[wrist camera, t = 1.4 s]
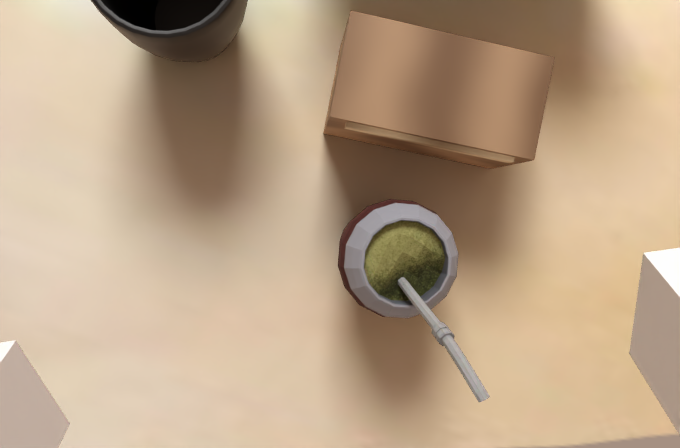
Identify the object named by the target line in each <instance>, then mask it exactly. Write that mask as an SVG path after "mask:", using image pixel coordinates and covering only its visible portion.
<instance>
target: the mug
mask: <svg viewBox="0 0 680 448" xmlns="http://www.w3.org/2000/svg"><path fill="white" fill-rule="evenodd" d="M91 1H92V2H93V4H94V5H95V6H96V8H97V9H98V10H99V11H100V13H101V14H102V15H103V16H104V17H105V18H106V19H107V20H108V21H109V22H110V23H111V24H112V25H113V26H114V27H115V28H116V29H117V30H118V31H119V32H120V33H122V34H123V35H124V36H125V37H126V38H128V39H129V40H130V41H131V42H132V43H134V44H136V45H137V46H139V47H141V48H143V49H145V50H146V51H148V52H150V53H152V54H154V55H157V56H159V57H163V58H167V59H170V60H174V61H183V62H200V61H205V60H209V59H211V58H214V57H216V56H217V55H219V54H220V53H221V52H223V51H224V50H225V49H226V48H227V46H228V45H229V44H230V42H231V41H232V40H233V39H234V37H235V36H236V34H237V32H238V30H239V28H240V26H241V24H242V22H243V18H244V14H245V10H246V6H247V2H248V0H91Z"/></svg>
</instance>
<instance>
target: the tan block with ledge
mask: <svg viewBox="0 0 680 448" xmlns="http://www.w3.org/2000/svg"><path fill="white" fill-rule="evenodd" d="M554 59H555V57H551V56H546V55H542V54H538V53H533V52H529V51H525V50H520V49H516V48H512V47H508V46H503V45H499V44H495V43H490V42H486V41H482V40H477V39H473V38H469V37H464V36H460V35H456V34H451V33H447V32H443V31H438V30H434V29H430V28H425V27H421V26H417V25H412V24H408V23H404V22H399V21H395V20H391V19H386V18H382V17H378V16H373V15H369V14H365V13H360V12H356V11H352V10H351V12H350V15H349V19H348V22H347V26H346V29H345V33H344V36H343V40H342V43H341V47H340V52H339V57H338V62H337V67H336V72H335V77H334V82H333V87H332V92H331V97H330V102H329V107H328V112H327V118H326V123H325V128H324V134H328V135H333V136H338V137H343V138H347V139H352V140H357V141H362V142H366V143H371V144H376V145H381V146H385V147H390V148H395V149H400V150H404V151H409V152H414V153H419V154H423V155H428V156H433V157H438V158H442V159H447V160H452V161H457V162H461V163H466V164H471V165H476V166H480V167H485V168H490V169H492V168H497V167H502V166H507V165H512V164H517V163H522V162H527V161H532V160H534V158H535V153H536V148H537V143H538V138H539V133H540V128H541V123H542V118H543V113H544V108H545V103H546V98H547V93H548V89H549V84H550V79H551V74H552V69H553V64H554Z"/></svg>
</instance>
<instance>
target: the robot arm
mask: <svg viewBox="0 0 680 448" xmlns="http://www.w3.org/2000/svg"><path fill="white" fill-rule="evenodd" d="M629 354H630V356H631V357H632V359H633V361H634V362H635V364H636V365H637V367H638V369H639V370H640V372H641V374H642V375H643V377H644V378H645V380H646V382H647V383H648V385H649V386H650V388H651V390H652V391H653V393H654V395H655V396H656V398H657V399H658V401H659V403H660V404H661V406H662V407H663V409H664V411H665V412H666V414H667V416H668V417H669V419H670V420H671V422H672V424H673V425H674V427H675V429H676V430H677V432H678V433H679V435H680V248H675V249H668V250H660V251H653V252H646V253H643V258H642V266H641V273H640V280H639V287H638V295H637V302H636V309H635V316H634V323H633V331H632V338H631V345H630V352H629ZM69 425H70V423H69V421H68V420H67V418H66V417H65V415H64V413H63V412H62V410H61V409H60V407H59V406H58V404H57V403H56V401H55V400H54V398H53V397H52V395H51V393H50V392H49V390H48V389H47V387H46V386H45V384H44V383H43V381H42V380H41V378H40V377H39V375H38V374H37V372H36V370H35V369H34V367H33V366H32V364H31V363H30V361H29V360H28V358H27V357H26V355H25V354H24V352H23V350H22V349H21V347H20V346H19V344H18V343H17V341H16V340H15V341H8V342H1V343H0V448H58V447H59V445H60V443H61V441H62V439H63V437H64V435H65V433H66V431H67V429H68V427H69Z"/></svg>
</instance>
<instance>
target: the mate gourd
mask: <svg viewBox="0 0 680 448" xmlns="http://www.w3.org/2000/svg"><path fill="white" fill-rule="evenodd" d="M457 264H458V251H457V247H456V244H455V241H454V238H453V234H452V232H451V231H450V230H449V228H448V227H447V226H446V225H445V223H444V222H443V221H442V220H441V219H440V217H439V216H438V215H437V214H436V213H435V212H433V211H431V210H429V209H427V208H425V207H424V206H422V205H420V204H418V203H416V202H414V201H404V200H393V199H389V200H386V201H383V202H380V203H377V204H373V205H370V206H368V207H367V208H365V209H364V210H363V211H362V212H361V213H359V214H358V215H357V216H356V217H355V218H354V219H352V220H351V221H350V222H349V223H348V225H347V226H346V228H345V229H344V230H343V233H342V236H341V239H340V245H339V258H338V267H339V270H340V273H341V277H342V280H343V283H344V286H345V288H346V289H347V290H348V292H349V293H350V294H351V295H352V296H353V298H354V299H355V300H356V301H357V302H358V304H359V305H361V306H363V307H365V308H367V309H369V310H371V311H372V312H374V313H376V314H378V315H380V316H382V317H397V318H410V317H413V316H416V315H419V314H421V315H422V317H423V318H424V319H425V321H426V322H427V323H428V325H429V326H430V327H431V329H432V334H433V335H434V337H435V338H436V340H437V341H438V342H439V344H441V345H442V346H445V348H446V349H447V351H448V353H449V354H450V356H451V357H452V359H453V360H454V362H455V364H456V365H457V367H458V369H459V370H460V372H461V374H462V375H463V377H464V379H465V380H466V382H467V384H468V385H469V387H470V389H471V390H472V392H473V394H474V395H475V397H476V398H477V400H478V402H482V401H484V400H486V399H487V398H489V397H490V396H489V394H488V393H487V391H486V389H485V388H484V386H483V385H482V383H481V381H480V380H479V378H478V376H477V375H476V373H475V371H474V370H473V368H472V367H471V365H470V363H469V362H468V360H467V358H466V357H465V355H464V354H463V352H462V351H461V349H460V348H459V346H458V345H457V343H456V342H455V340H454V334H453V333H452V332H451V331H450V329H449V328H448V327H447V325H446V324H444V323H443V322H440V321H439V319H438V318H437V317H436V316H435V315H434V313H433V312H432V311H431V309H432V308H433V307H434V306H436V305H437V304H438V303H439V302H440V301H441V300H443V299H444V298H445V297H446V296H447V294H448V292H449V290H450V288H451V286H452V284H453V282H454V280H455V278H456V276H457Z"/></svg>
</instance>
